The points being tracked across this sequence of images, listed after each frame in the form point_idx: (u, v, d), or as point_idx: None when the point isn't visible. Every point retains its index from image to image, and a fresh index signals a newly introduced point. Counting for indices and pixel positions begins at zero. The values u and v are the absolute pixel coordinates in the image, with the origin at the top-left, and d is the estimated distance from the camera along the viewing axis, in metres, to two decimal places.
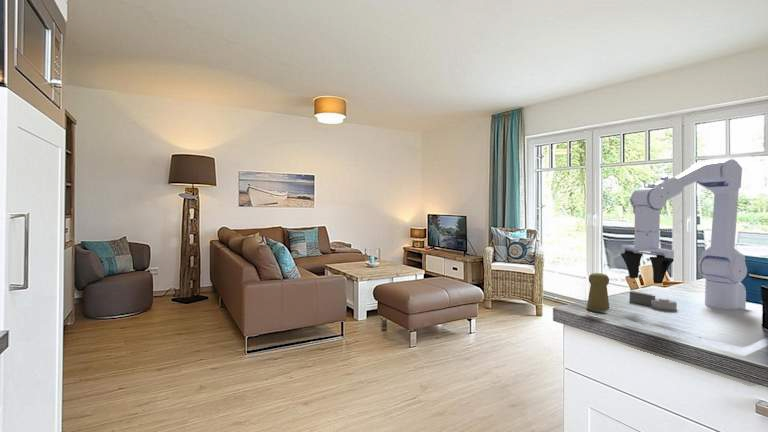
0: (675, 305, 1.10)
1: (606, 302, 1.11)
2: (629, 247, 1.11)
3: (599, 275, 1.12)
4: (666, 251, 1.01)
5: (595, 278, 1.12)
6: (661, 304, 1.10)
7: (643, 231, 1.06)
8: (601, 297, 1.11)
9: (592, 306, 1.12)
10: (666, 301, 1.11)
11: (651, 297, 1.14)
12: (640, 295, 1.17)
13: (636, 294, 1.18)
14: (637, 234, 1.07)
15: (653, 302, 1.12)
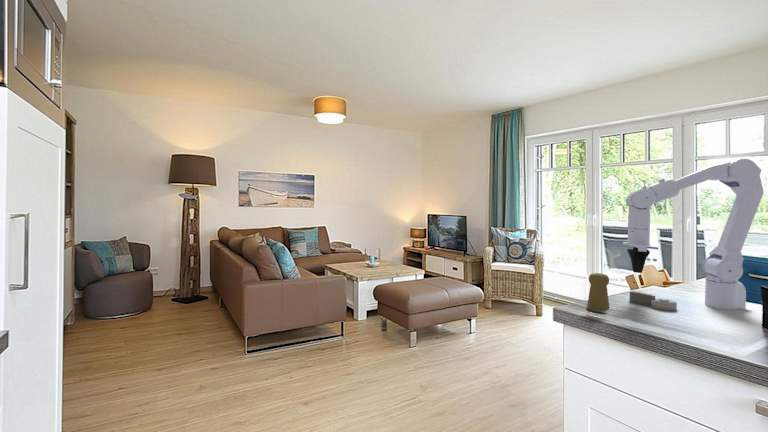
0: (675, 305, 1.10)
1: (606, 302, 1.11)
2: None
3: (599, 275, 1.12)
4: (638, 245, 1.16)
5: (595, 278, 1.12)
6: (661, 304, 1.10)
7: (630, 228, 1.21)
8: (601, 297, 1.11)
9: (592, 306, 1.12)
10: (666, 301, 1.11)
11: (651, 297, 1.14)
12: (640, 295, 1.17)
13: (636, 294, 1.18)
14: (628, 231, 1.23)
15: (653, 302, 1.12)
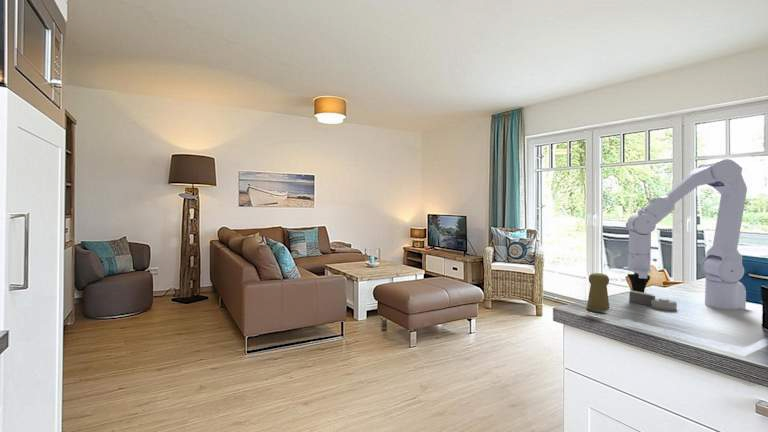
0: (675, 305, 1.10)
1: (606, 302, 1.11)
2: None
3: (599, 275, 1.12)
4: (638, 272, 1.14)
5: (595, 278, 1.12)
6: (661, 304, 1.10)
7: (630, 253, 1.19)
8: (601, 297, 1.11)
9: (592, 306, 1.12)
10: (666, 301, 1.11)
11: (651, 297, 1.14)
12: (640, 295, 1.17)
13: (636, 294, 1.18)
14: (628, 255, 1.21)
15: (653, 302, 1.12)
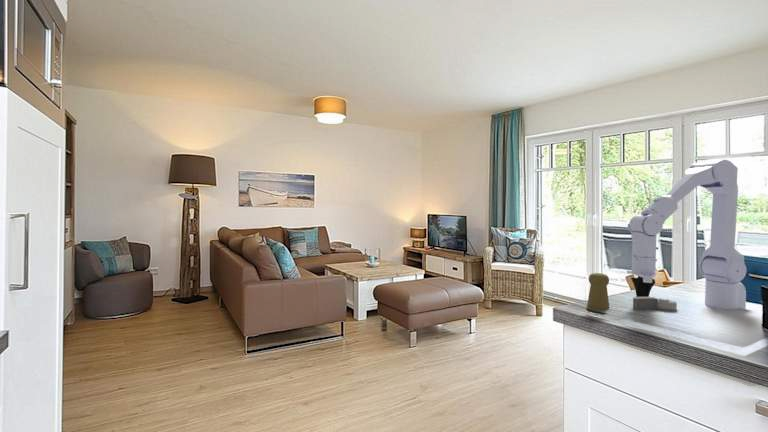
0: None
1: (606, 302, 1.11)
2: None
3: (599, 275, 1.12)
4: (643, 276, 1.07)
5: (595, 278, 1.12)
6: (674, 305, 1.09)
7: (634, 256, 1.12)
8: (601, 297, 1.11)
9: (592, 306, 1.12)
10: (669, 300, 1.11)
11: (656, 300, 1.11)
12: (647, 300, 1.11)
13: (643, 300, 1.11)
14: (632, 258, 1.14)
15: (666, 304, 1.09)
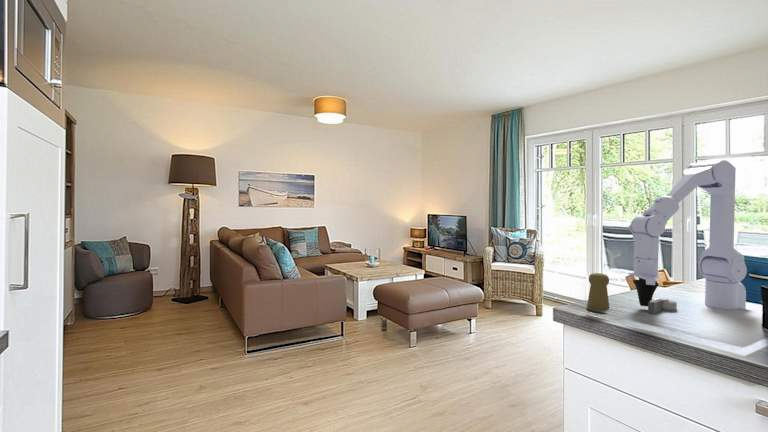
0: None
1: (606, 302, 1.11)
2: None
3: (599, 275, 1.12)
4: (646, 278, 1.05)
5: (595, 278, 1.12)
6: (676, 304, 1.10)
7: (636, 257, 1.10)
8: (601, 297, 1.11)
9: (592, 306, 1.12)
10: None
11: (663, 301, 1.10)
12: (658, 302, 1.08)
13: (657, 303, 1.07)
14: (634, 260, 1.12)
15: (672, 305, 1.09)
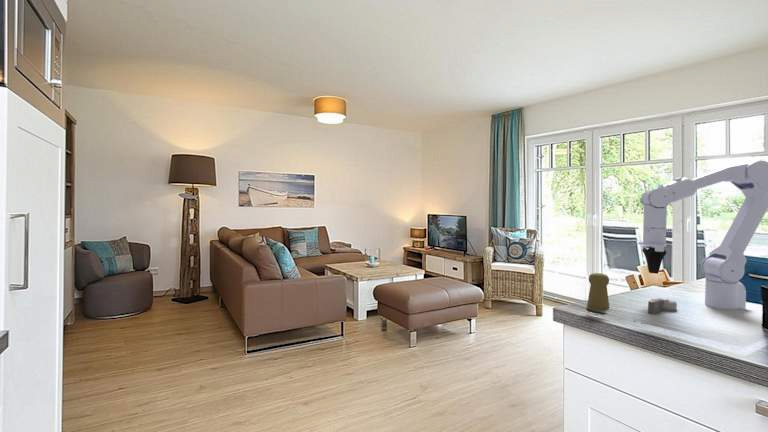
0: None
1: (606, 302, 1.11)
2: None
3: (599, 275, 1.12)
4: (655, 245, 1.12)
5: (595, 278, 1.12)
6: (676, 304, 1.10)
7: (645, 227, 1.18)
8: (601, 297, 1.11)
9: (592, 306, 1.12)
10: None
11: (663, 301, 1.10)
12: (658, 302, 1.08)
13: (657, 303, 1.07)
14: (643, 230, 1.20)
15: (672, 305, 1.09)
